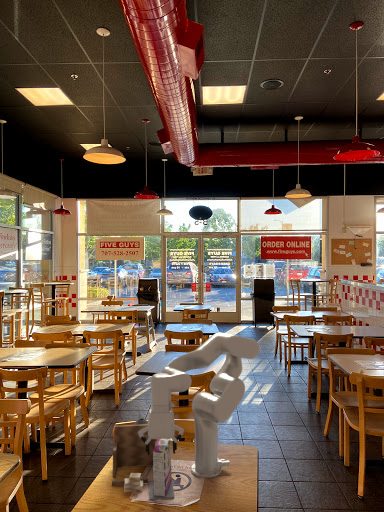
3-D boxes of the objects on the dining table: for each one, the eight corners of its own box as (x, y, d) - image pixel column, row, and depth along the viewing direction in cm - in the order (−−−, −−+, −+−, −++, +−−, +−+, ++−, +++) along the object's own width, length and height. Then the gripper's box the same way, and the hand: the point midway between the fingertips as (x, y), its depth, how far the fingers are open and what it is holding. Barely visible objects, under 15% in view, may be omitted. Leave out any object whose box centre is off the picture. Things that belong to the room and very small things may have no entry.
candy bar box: (159, 479, 154) (159, 437, 154) (171, 480, 153) (171, 438, 154) (152, 496, 143) (152, 450, 143) (165, 497, 142) (165, 451, 142)
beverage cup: (148, 457, 173) (148, 412, 174) (132, 457, 173) (131, 412, 174) (150, 450, 180) (150, 406, 181) (134, 450, 180) (134, 406, 181)
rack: (157, 463, 168) (157, 423, 168) (158, 482, 153) (158, 438, 153) (114, 466, 166) (114, 425, 166) (111, 486, 151) (111, 441, 151)
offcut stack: (142, 484, 152) (142, 472, 152) (142, 490, 147) (142, 478, 147) (124, 485, 151) (124, 473, 151) (124, 492, 147) (123, 479, 147)
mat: (172, 480, 154) (172, 479, 154) (174, 498, 142) (174, 496, 142) (149, 482, 153) (149, 480, 153) (149, 500, 141) (149, 498, 141)
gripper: (182, 402, 153) (183, 447, 153) (138, 404, 151) (138, 449, 151) (184, 409, 146) (184, 456, 145) (137, 411, 144) (138, 459, 143)
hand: (161, 452), depth 148 cm, fingers open, 9 cm apart
